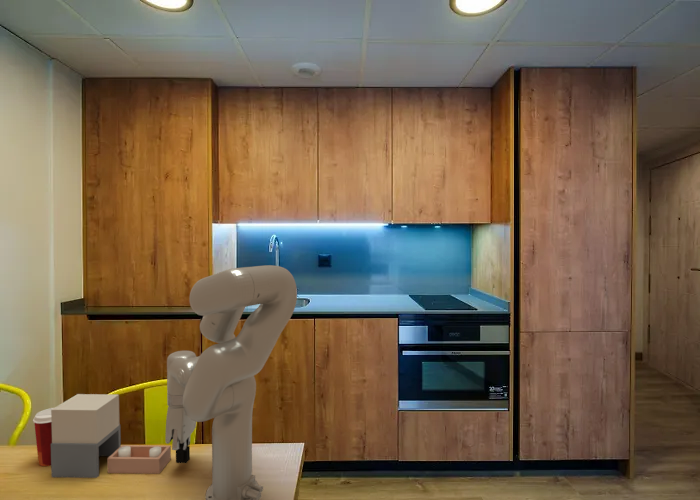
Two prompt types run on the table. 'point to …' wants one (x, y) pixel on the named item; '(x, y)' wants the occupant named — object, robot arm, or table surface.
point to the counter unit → (84, 434)
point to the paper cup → (43, 436)
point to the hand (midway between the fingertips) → (182, 461)
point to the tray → (139, 459)
